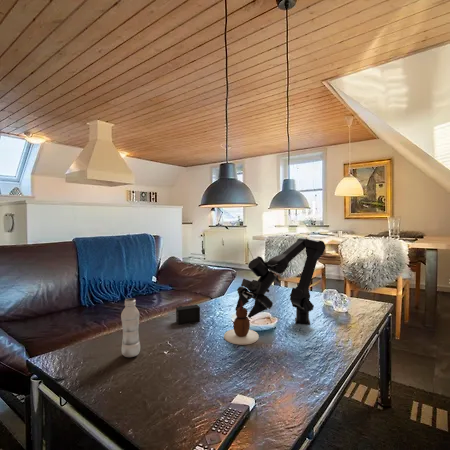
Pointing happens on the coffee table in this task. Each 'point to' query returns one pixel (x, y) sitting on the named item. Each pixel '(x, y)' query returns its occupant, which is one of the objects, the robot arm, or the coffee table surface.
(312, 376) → the coffee table surface
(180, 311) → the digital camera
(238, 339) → the ceramic plate
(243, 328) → the wooden figurine
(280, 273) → the robot arm
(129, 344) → the plastic bottle
